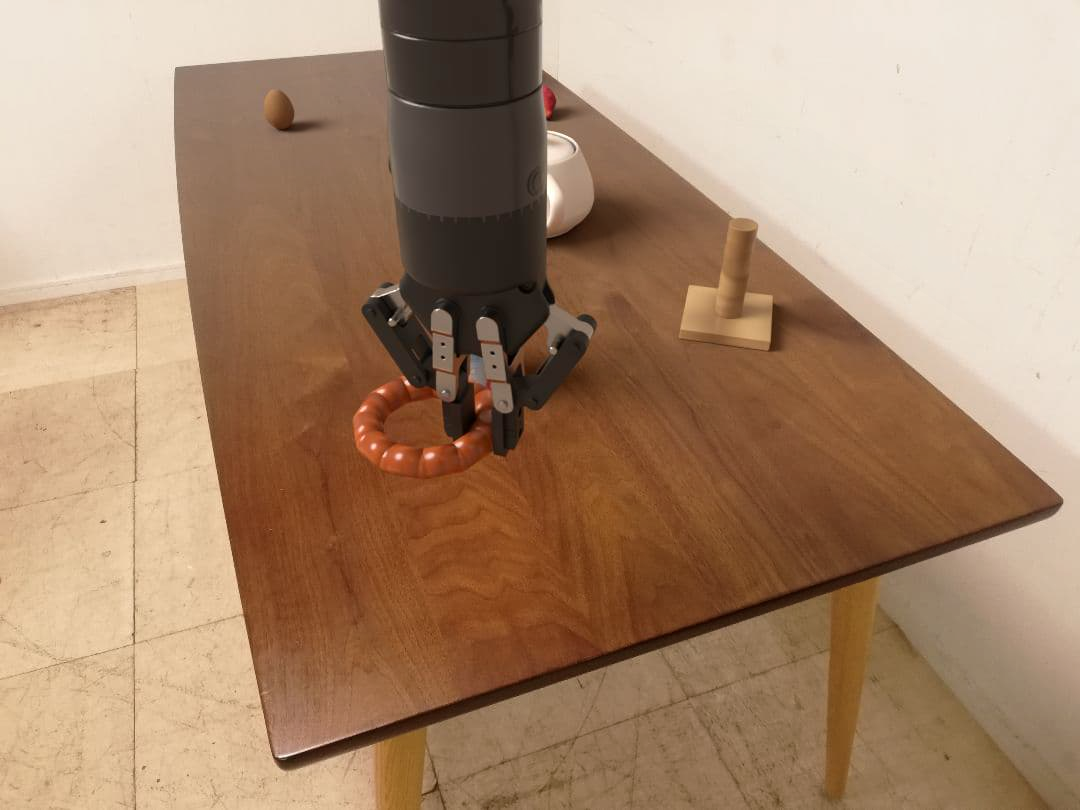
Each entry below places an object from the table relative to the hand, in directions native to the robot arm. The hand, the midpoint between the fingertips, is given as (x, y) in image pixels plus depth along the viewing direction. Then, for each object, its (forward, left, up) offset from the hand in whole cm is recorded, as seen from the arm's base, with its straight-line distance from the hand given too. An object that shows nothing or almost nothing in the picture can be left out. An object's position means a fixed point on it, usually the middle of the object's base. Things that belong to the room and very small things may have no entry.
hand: (484, 442), depth 51 cm
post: (-14, -39, -14) cm, 44 cm away
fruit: (+19, -93, -14) cm, 96 cm away
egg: (+57, -77, -14) cm, 97 cm away
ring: (+4, 0, +1) cm, 4 cm away
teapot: (+12, -57, -14) cm, 60 cm away
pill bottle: (+8, -23, -14) cm, 28 cm away
